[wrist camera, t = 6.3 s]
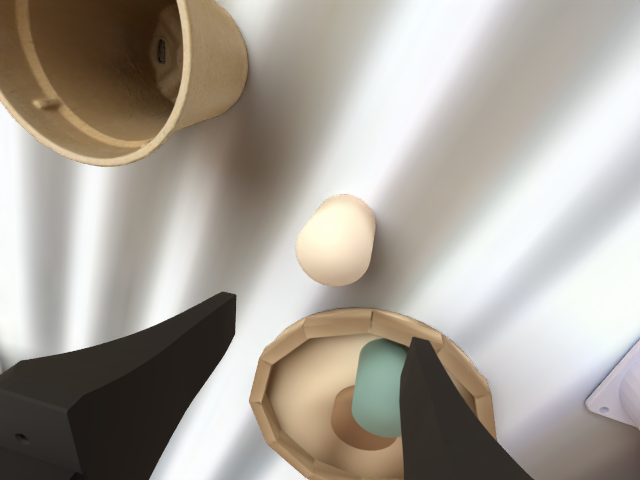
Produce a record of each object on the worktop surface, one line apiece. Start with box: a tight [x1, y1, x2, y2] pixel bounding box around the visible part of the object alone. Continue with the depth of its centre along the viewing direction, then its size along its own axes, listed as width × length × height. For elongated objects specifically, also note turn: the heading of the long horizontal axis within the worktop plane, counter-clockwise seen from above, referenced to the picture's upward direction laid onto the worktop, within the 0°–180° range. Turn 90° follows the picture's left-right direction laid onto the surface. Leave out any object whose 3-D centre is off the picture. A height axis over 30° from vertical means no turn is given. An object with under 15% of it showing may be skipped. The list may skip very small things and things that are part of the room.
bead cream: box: [296, 194, 376, 287], centre depth 19 cm, size 4×4×4 cm
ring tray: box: [249, 307, 497, 480], centre depth 26 cm, size 18×18×2 cm
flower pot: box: [0, 0, 248, 167], centre depth 16 cm, size 9×9×9 cm
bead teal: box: [352, 338, 409, 438], centre depth 22 cm, size 4×4×4 cm
